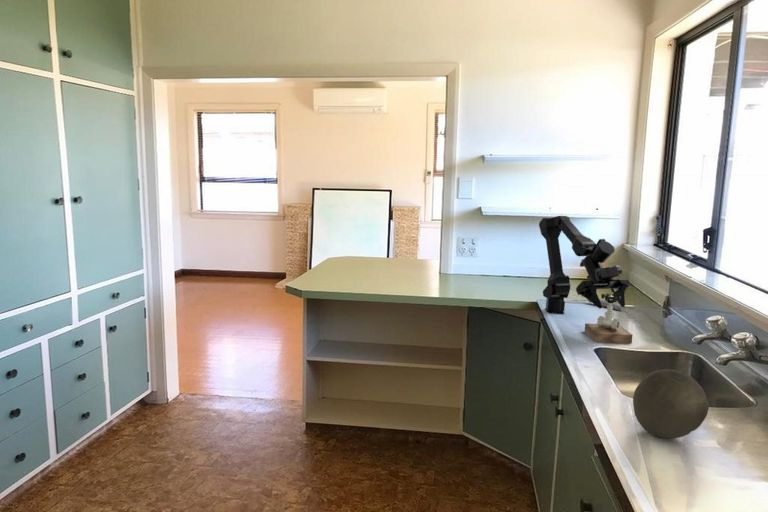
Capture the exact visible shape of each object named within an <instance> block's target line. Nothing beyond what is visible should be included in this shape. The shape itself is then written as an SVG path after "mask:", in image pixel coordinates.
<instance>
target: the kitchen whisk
mask: <svg viewBox="0 0 768 512" xmlns="http://www.w3.org/2000/svg"><path fill="white" fill-rule="evenodd" d="M576 288H577V287H576ZM576 288H575V287H573V286H570V291H571V290H572V291H574V292H577V291H576ZM570 291H569V295H570V296H572V295H573V296H575V297H576V296H577V297H578V298H580V295H578V294H577V293H573V292H570ZM577 297H576V298H572V300H571V301H573V302H574V301H575V302H576V300H578V298H577ZM568 298H571V297H569V296H568ZM599 300H600V302H601V305H602V307H604V308H607V305H609V303H608V302H606V301H605V299H603V298H599ZM583 301H584V302H585V301H586V302H589V303H590V304H593V303H592V302H591V301H589V300H588V299H587V298H584V297H582V296H581V302H583ZM612 306H613V310H615V311H619V312H620V311H621V312H622V311H623V310H624V308H626V311H628V308H627V307H626V306H625V307H622V306H621V305H620V304H619V303H618V302H614V303H612Z"/></svg>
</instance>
